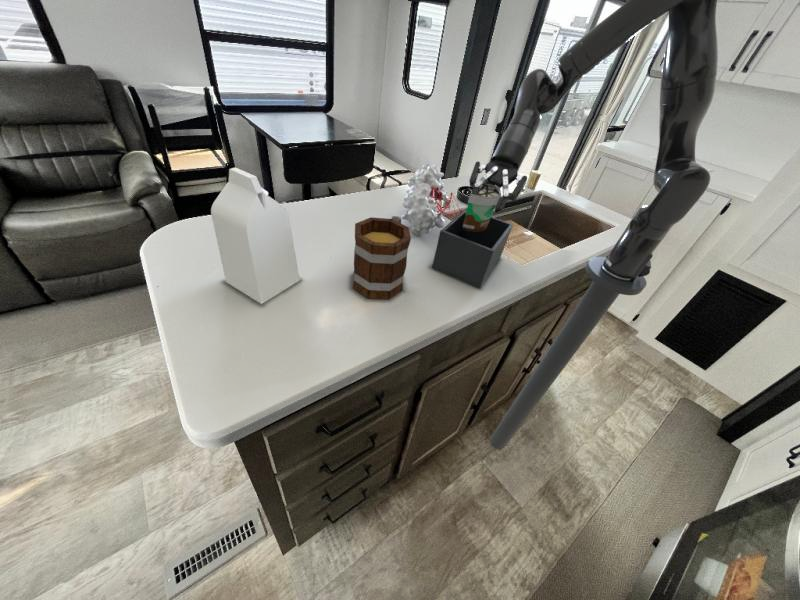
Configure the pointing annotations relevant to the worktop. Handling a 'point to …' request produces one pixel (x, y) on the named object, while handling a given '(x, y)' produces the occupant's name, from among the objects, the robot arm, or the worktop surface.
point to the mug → (380, 257)
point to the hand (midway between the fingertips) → (483, 206)
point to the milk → (253, 238)
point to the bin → (470, 249)
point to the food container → (481, 208)
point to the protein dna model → (426, 200)
